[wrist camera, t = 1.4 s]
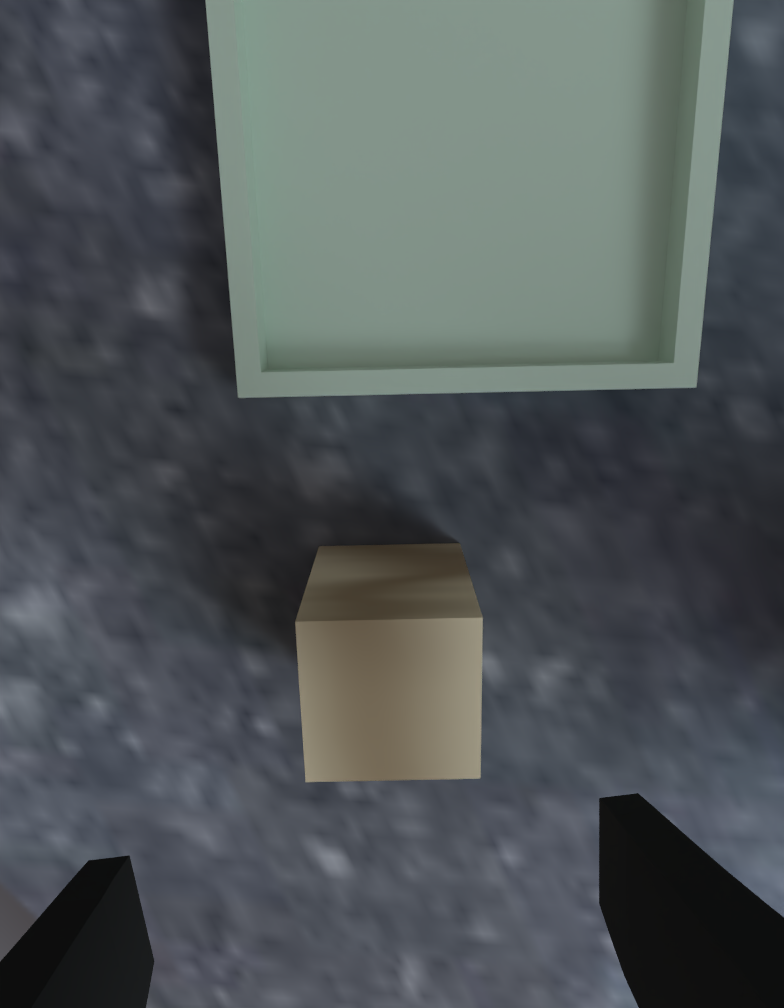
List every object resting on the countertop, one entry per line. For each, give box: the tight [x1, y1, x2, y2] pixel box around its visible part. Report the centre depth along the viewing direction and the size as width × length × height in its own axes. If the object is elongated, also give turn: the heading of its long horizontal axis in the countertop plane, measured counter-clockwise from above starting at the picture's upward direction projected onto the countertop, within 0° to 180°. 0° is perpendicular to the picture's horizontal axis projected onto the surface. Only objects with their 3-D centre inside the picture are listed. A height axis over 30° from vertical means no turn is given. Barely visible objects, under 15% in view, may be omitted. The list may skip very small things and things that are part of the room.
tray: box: [205, 0, 734, 398], centre depth 16 cm, size 11×11×2 cm
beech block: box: [295, 543, 483, 782], centre depth 17 cm, size 4×4×5 cm
